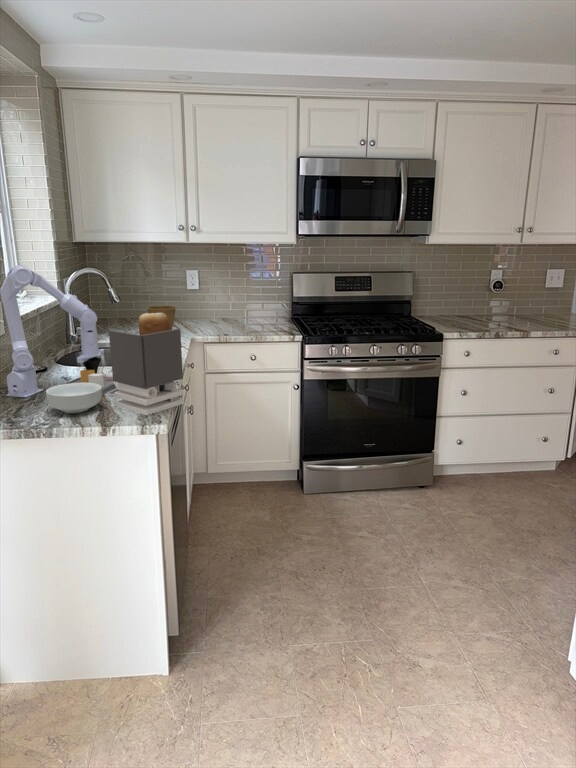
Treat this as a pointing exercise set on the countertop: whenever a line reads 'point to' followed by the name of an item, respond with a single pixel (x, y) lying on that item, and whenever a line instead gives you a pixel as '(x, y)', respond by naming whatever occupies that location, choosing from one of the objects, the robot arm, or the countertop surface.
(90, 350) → the robot arm
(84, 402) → the cereal bowl
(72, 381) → the cords
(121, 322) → the countertop surface
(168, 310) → the plant pot
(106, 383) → the breaker panel
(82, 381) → the orange block
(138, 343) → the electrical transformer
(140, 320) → the bread loaf
